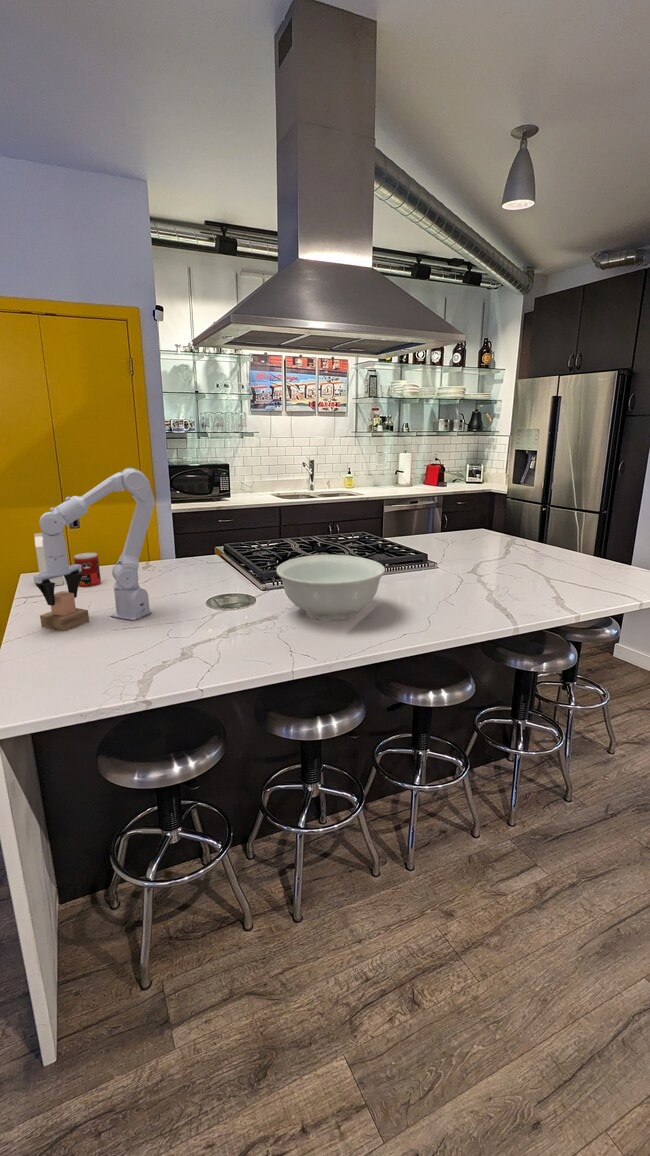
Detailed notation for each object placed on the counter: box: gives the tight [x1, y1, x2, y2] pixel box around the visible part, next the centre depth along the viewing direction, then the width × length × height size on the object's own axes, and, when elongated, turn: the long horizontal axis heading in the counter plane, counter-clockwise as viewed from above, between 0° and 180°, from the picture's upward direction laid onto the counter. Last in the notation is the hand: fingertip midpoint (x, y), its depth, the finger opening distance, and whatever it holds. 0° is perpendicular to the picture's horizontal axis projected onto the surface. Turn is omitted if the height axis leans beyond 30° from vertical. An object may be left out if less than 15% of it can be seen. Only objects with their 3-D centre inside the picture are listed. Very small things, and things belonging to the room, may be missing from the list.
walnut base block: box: [39, 607, 90, 633], centre depth 160 cm, size 9×9×4 cm
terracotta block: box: [50, 591, 77, 616], centre depth 159 cm, size 4×4×6 cm
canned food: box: [73, 552, 102, 588], centre depth 200 cm, size 8×8×11 cm
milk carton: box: [33, 532, 64, 586], centre depth 200 cm, size 7×7×19 cm
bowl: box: [276, 554, 386, 621], centre depth 167 cm, size 32×32×15 cm
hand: (62, 601), depth 159 cm, fingers open, 7 cm apart
